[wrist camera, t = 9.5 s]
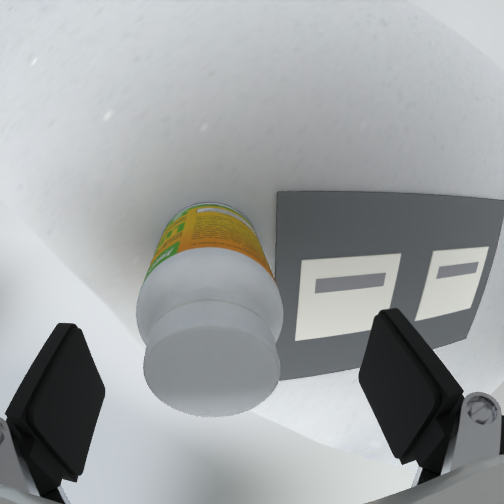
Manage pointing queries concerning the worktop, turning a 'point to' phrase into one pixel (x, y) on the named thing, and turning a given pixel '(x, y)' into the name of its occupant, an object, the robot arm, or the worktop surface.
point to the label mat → (377, 270)
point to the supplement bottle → (210, 315)
